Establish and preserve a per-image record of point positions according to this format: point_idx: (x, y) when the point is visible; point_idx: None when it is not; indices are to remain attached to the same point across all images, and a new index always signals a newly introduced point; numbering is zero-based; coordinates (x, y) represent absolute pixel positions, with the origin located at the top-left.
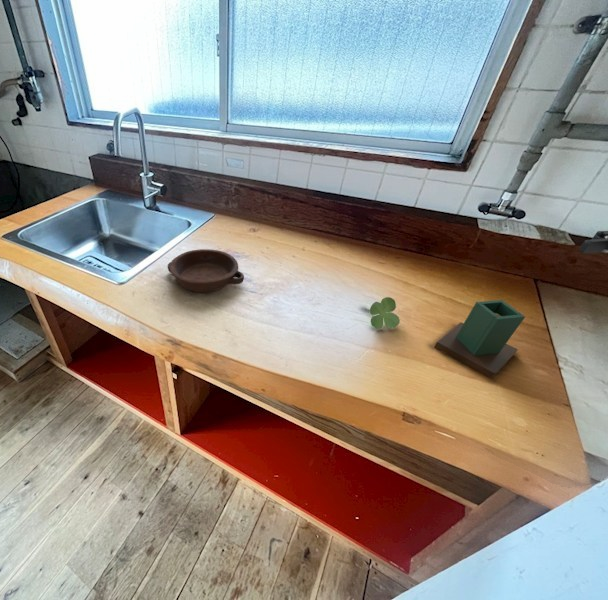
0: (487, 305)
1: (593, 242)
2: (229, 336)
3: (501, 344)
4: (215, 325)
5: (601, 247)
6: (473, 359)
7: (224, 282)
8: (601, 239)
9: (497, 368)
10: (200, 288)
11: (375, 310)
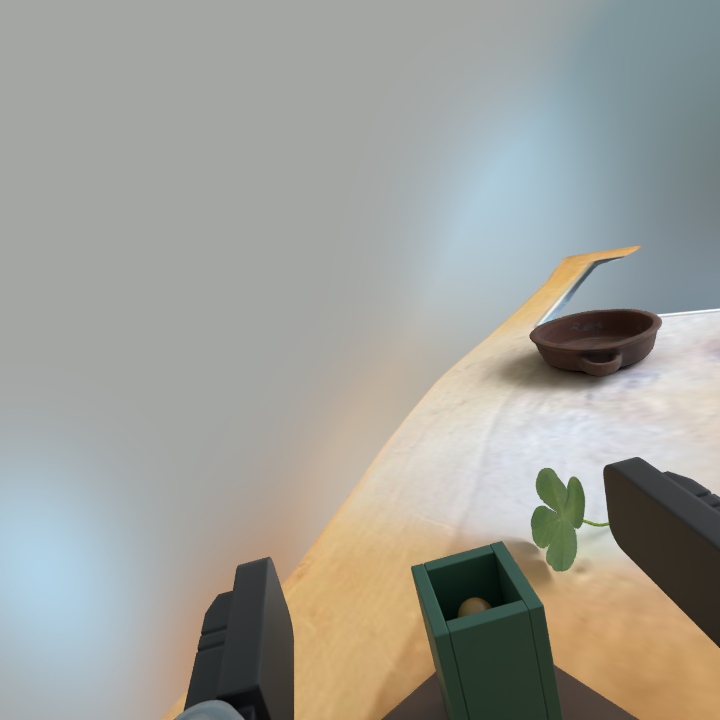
0: (503, 574)
1: (618, 475)
2: (451, 406)
3: None
4: (472, 393)
5: (694, 583)
6: (424, 690)
7: (567, 358)
8: (708, 511)
9: None
10: (540, 353)
11: (548, 492)
